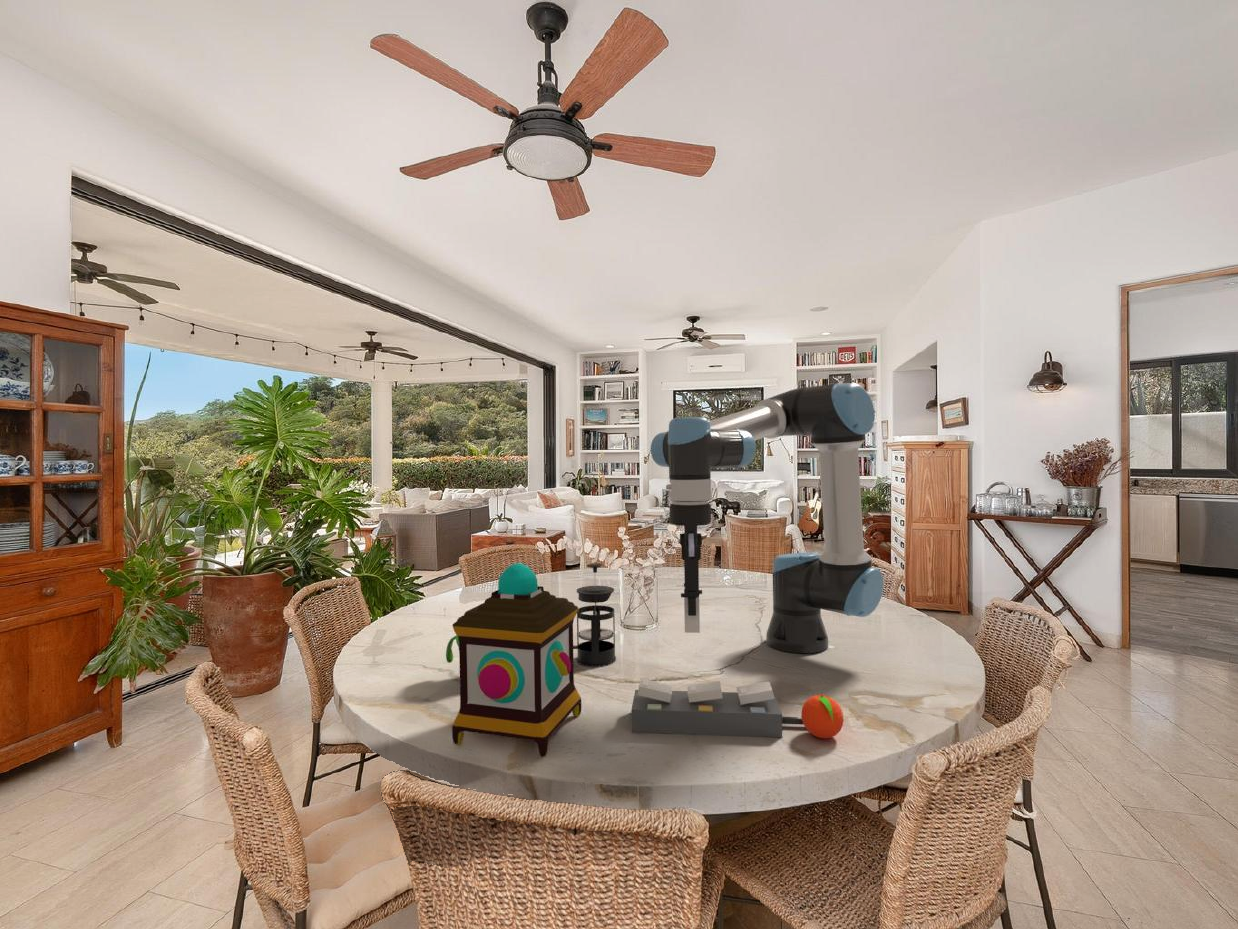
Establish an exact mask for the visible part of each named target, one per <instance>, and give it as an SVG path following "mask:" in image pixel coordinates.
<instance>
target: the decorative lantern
mask: <svg viewBox="0 0 1238 929" xmlns="http://www.w3.org/2000/svg"><path fill="white" fill-rule="evenodd" d="M497 587H498V588H497V590H494V591H493V592H491V596H490V597H488V598H486V599H485V600H484V602H483V603H481V604H478V605H477V606H475V607H473V608H471V609H468V610H467V611H465V612H464V614H463V615H461V616H459V617H457V620H456V621H454V622H453V623H452V628H453V631H454V633H455V636H456V635H457V637H458V639H459V646H458V647H459V648H458V653H459V655H458V656H459V660H458V661H459V699H460V700H459V701H460V702H459V704H460V705H459V710H458V713H457V714H456V717H455V719H454V721H453V724H452V727H451V737H452V742H453V744H454V745H456V746H459V745H461V744H462V743H463V740H464V732H466V733H475V734H481V735H489V736H496V737H504V738H512V739H518V740H525V741H526V740H527V741H531V742H533V743H535V744H536V746H537V750H538V755H539V757H540V758H545V757H546V755H547V753H548V746H549V739H550V737H551V736H552V735H553V734H554V733H555V731H556V730H557V729H558V728H559V727H560V726H561V725H562V723H563V722H564V721H565V720H566V719H567V717H568V716H570V714H571V713H572V715H573V716H574V717H575V718H578V717H579V716H580V715H581V714H582V697H581V696H580V695H581V694H580V693H579V691H578V690H577V687H576V686H575V674H574V672H575V668H574V665H575V664H574V663H575V662H574V649H573V646H574V620H575V618H576V617H577V611H578V609H579V606H577V605H575V603H574V602H572V601H569V599H568V598H566V597H557V596H556V595H553V594H551V593H550V591H547V590H545V589H544V586H542V585H541V586H540V585H538V578H537V575H536V573H535V572H534V571H533V570H532V569H531V568H530V567H529V566H527V565H526V564H525V563H524V564H523V563H520V562H515V563H513V564H511V565H509V566H508V567H507V568H505V570H504V571H503V572H502V573H501V574H500V576H499V577H498V586H497Z"/></svg>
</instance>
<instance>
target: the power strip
mask: <svg viewBox="0 0 1238 929" xmlns="http://www.w3.org/2000/svg"><path fill="white" fill-rule="evenodd" d="M773 695H774V699H771V700H765V701H760V702H754V703H748V704H743V705H741V704H740V700H739V695H738V692H735V691H734V692H727V691H722V697H723V698H721V699H713V700H705V701H697V702H690V703H689V698H688V690H672V696H671V701H670V703H669V702H665V701H661V700H657V699H652V698H648V697H644V696H640V695H638V689H635V690H634V695H633V699H632V706H631V711H630V712H631V733H645V734H646V733H647V734H670V735H671V734H674V735H675V734H676V735H678V734H679V735H700V736H701V735H704V736H705V735H706V736H727V737H728V736H730V737H733V736H734V737H735V736H736V737H756V738H757V737H762V738H765V737H766V738H783V725H803V726H804V724H803V721H802V716H800V717H799V716H783V713H782V711H781V708H780V705H779V702H778V700H777V697H776V695H775V693H773Z"/></svg>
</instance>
